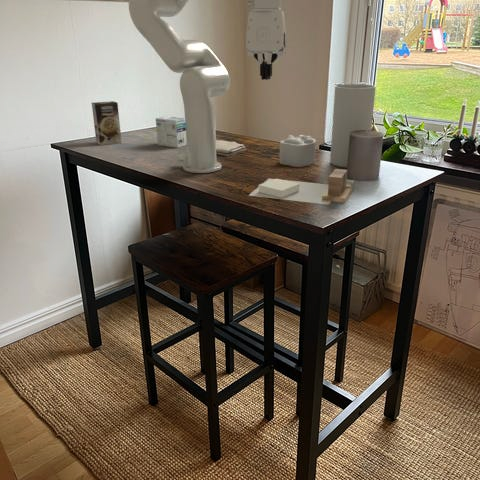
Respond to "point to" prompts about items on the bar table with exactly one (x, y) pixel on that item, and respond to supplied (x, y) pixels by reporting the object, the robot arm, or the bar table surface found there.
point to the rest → (338, 198)
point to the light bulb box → (171, 131)
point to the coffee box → (106, 122)
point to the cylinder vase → (350, 117)
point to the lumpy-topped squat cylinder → (297, 151)
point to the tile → (278, 188)
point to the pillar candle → (364, 155)
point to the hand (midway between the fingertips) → (266, 79)
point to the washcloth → (228, 148)
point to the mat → (301, 193)
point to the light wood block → (338, 182)
